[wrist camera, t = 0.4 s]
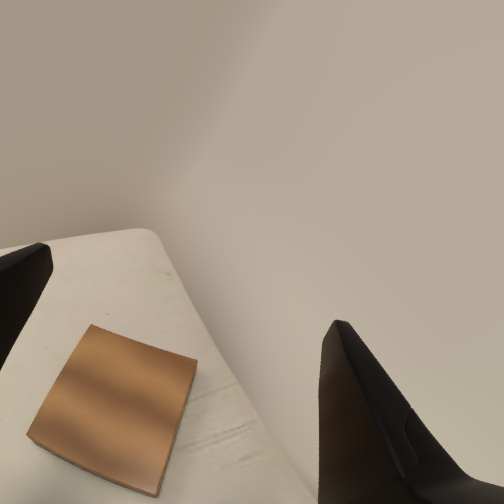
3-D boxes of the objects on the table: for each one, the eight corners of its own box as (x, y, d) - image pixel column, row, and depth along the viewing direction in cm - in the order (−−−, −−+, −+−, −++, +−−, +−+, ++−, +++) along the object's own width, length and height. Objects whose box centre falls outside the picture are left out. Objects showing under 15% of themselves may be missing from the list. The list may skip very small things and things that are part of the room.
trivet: (157, 498, 15) (156, 495, 14) (32, 441, 15) (25, 434, 14) (196, 369, 25) (197, 359, 24) (93, 334, 25) (90, 323, 24)
